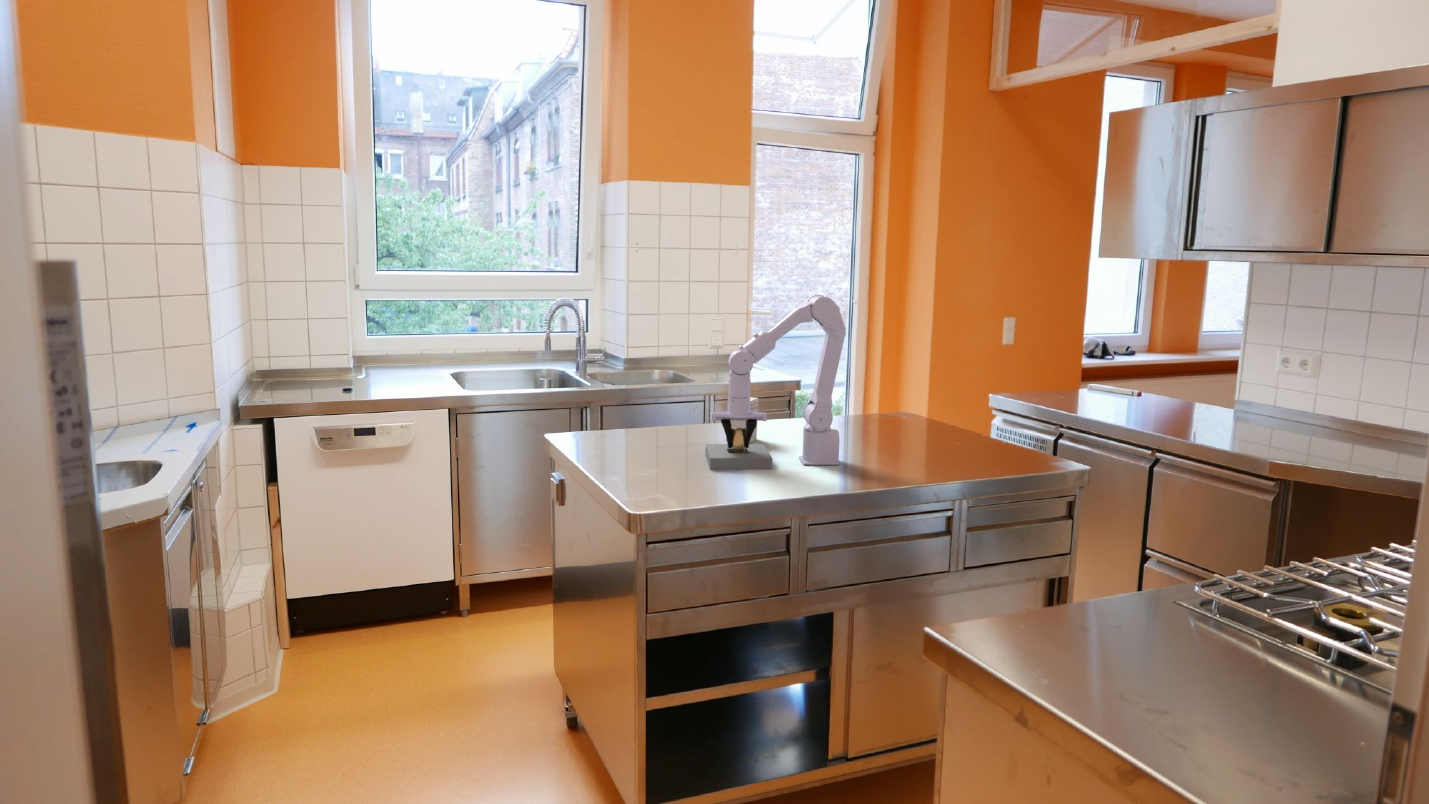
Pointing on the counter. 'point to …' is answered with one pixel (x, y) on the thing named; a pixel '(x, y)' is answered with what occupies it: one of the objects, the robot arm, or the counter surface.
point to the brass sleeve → (738, 440)
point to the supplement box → (743, 422)
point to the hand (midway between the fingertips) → (738, 447)
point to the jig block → (738, 457)
